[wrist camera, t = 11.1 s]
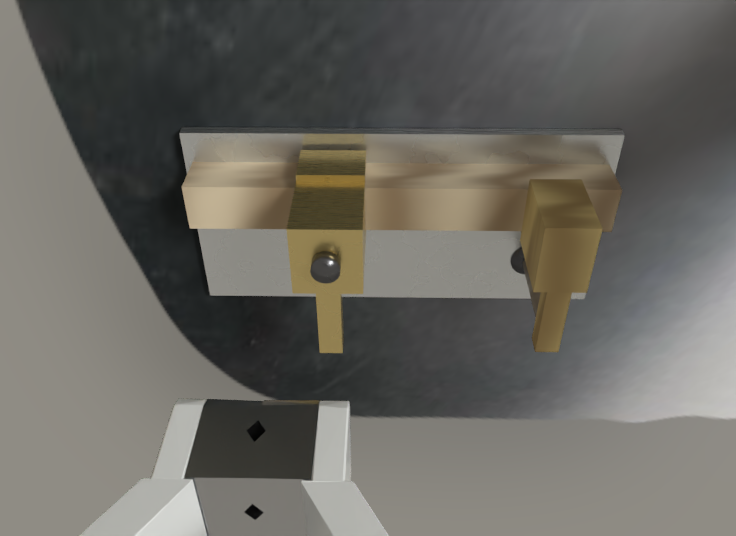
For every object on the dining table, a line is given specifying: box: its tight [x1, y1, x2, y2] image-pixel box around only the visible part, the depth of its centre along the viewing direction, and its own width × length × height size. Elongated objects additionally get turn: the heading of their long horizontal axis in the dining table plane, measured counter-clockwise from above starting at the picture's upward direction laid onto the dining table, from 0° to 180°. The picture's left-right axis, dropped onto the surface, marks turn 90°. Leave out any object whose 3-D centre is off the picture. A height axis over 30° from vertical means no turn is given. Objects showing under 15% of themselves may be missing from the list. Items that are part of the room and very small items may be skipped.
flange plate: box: [179, 127, 625, 299], centre depth 46 cm, size 27×13×1 cm, turn 90°
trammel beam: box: [182, 162, 622, 352], centre depth 43 cm, size 26×9×8 cm, turn 90°
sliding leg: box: [286, 150, 366, 353], centre depth 42 cm, size 4×10×9 cm, turn 0°
